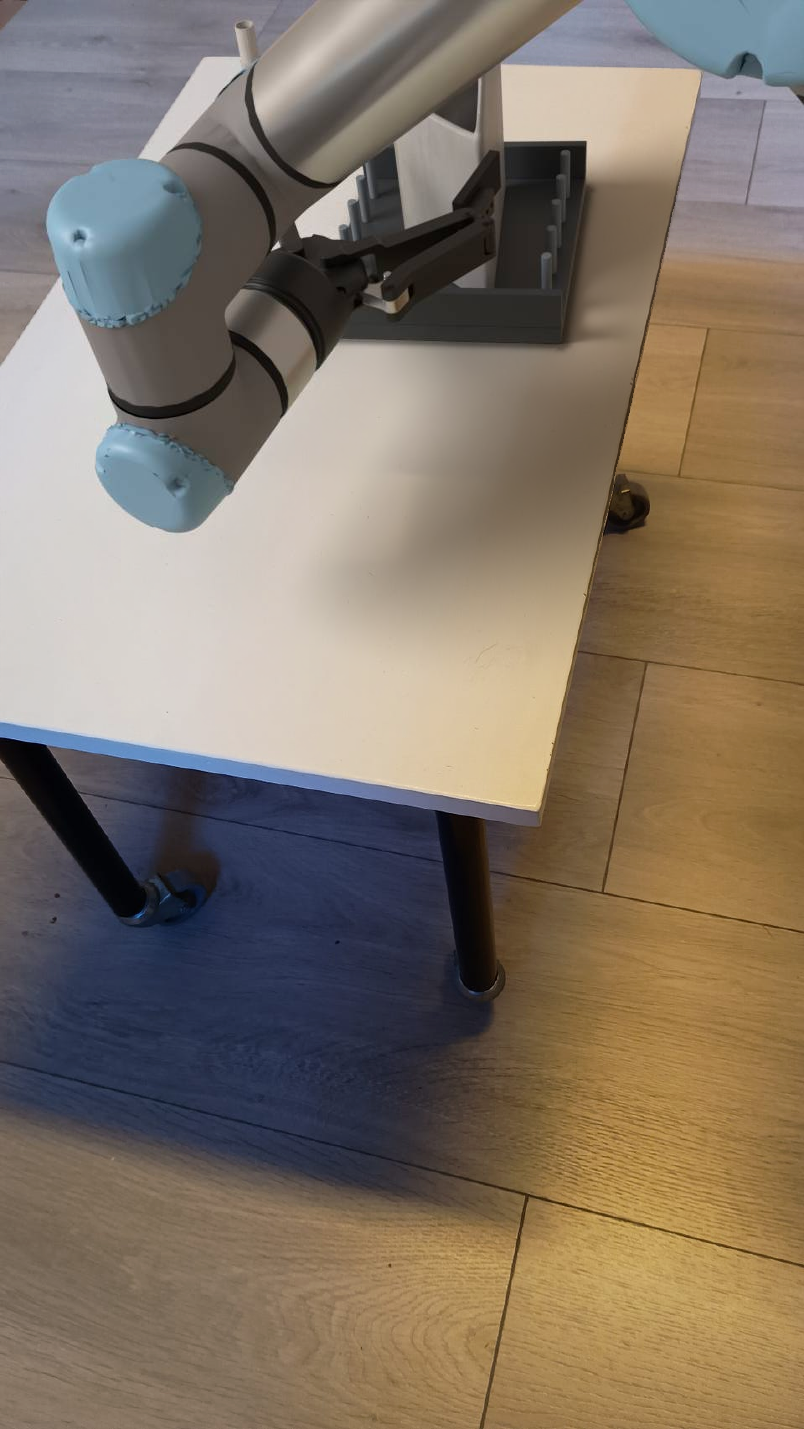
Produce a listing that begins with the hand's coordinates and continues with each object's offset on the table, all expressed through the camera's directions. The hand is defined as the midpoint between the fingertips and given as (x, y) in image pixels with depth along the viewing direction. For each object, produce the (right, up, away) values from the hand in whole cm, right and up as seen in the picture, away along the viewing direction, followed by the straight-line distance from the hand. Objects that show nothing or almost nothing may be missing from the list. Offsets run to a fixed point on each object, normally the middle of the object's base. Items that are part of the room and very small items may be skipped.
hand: (410, 154), depth 82 cm
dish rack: (+4, -2, +14) cm, 15 cm away
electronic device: (-10, +16, +28) cm, 34 cm away
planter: (+4, -1, +13) cm, 13 cm away
